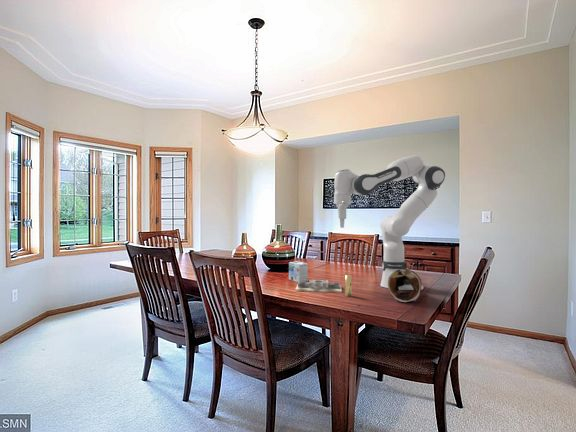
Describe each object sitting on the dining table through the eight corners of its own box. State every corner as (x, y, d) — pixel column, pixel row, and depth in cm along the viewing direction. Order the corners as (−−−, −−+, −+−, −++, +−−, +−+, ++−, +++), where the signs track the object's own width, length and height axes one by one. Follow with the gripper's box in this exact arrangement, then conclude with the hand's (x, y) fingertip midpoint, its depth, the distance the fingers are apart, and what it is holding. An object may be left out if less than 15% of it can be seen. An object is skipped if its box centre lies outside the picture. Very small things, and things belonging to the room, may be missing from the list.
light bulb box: (288, 279, 206) (288, 261, 206) (297, 278, 210) (297, 260, 210) (299, 282, 197) (299, 264, 197) (308, 281, 201) (308, 263, 201)
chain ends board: (341, 287, 187) (341, 279, 187) (341, 292, 175) (341, 284, 175) (297, 285, 190) (297, 278, 190) (295, 290, 178) (295, 283, 178)
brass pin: (351, 295, 170) (351, 275, 170) (351, 296, 167) (351, 276, 167) (345, 294, 170) (345, 275, 170) (345, 296, 167) (345, 276, 167)
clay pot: (420, 268, 178) (419, 267, 155) (423, 298, 175) (423, 301, 152) (390, 270, 184) (385, 269, 161) (394, 299, 180) (389, 302, 158)
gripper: (349, 200, 167) (348, 228, 167) (347, 201, 187) (347, 226, 188) (336, 200, 168) (335, 228, 168) (336, 201, 188) (335, 226, 188)
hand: (342, 227), depth 178 cm, fingers open, 8 cm apart
